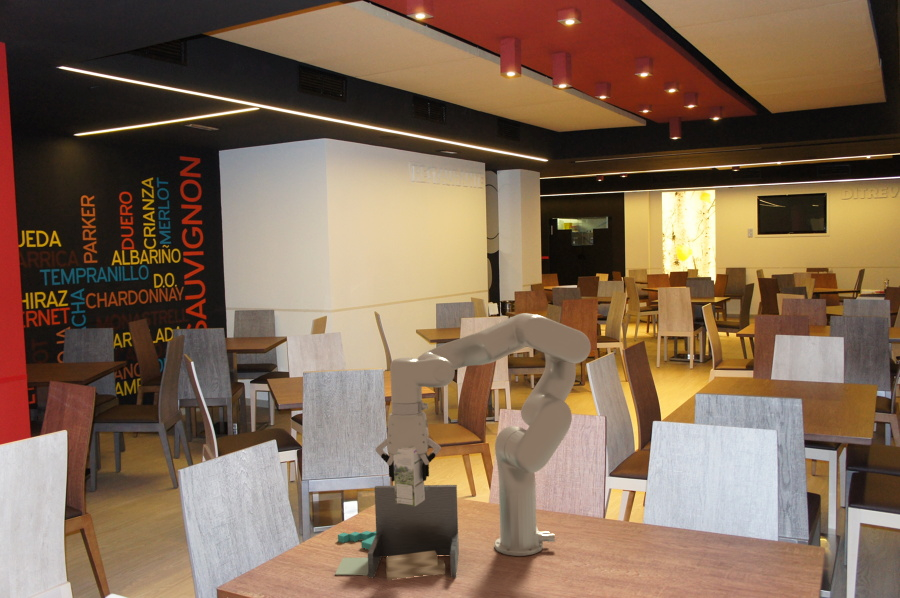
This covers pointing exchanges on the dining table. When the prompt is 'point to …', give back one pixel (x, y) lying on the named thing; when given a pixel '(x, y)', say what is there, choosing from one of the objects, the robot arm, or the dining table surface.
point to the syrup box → (408, 477)
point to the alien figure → (358, 538)
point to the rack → (415, 525)
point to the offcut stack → (413, 565)
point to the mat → (353, 566)
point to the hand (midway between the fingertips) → (409, 479)
